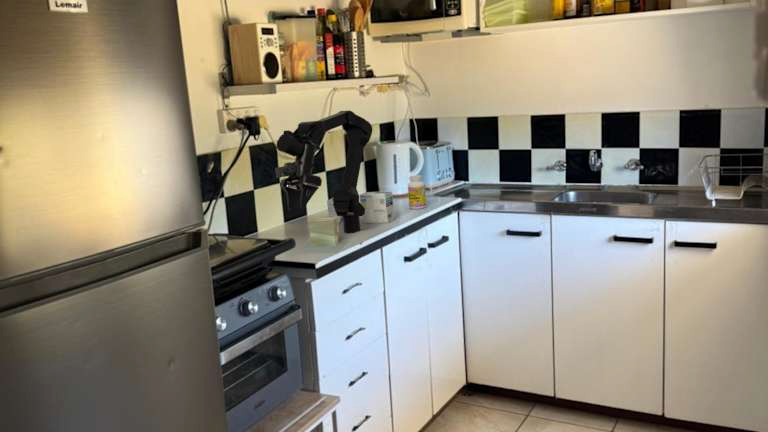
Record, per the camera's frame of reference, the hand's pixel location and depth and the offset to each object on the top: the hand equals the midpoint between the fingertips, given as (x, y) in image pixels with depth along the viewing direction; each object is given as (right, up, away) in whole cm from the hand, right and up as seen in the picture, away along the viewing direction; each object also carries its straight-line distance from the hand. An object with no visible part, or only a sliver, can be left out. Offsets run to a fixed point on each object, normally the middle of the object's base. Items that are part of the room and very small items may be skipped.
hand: (295, 209), depth 223 cm
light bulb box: (+25, -4, +41) cm, 48 cm away
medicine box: (+10, -4, +49) cm, 50 cm away
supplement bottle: (+41, +1, +63) cm, 75 cm away
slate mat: (+8, -13, 0) cm, 15 cm away
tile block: (+9, -11, +4) cm, 15 cm away
